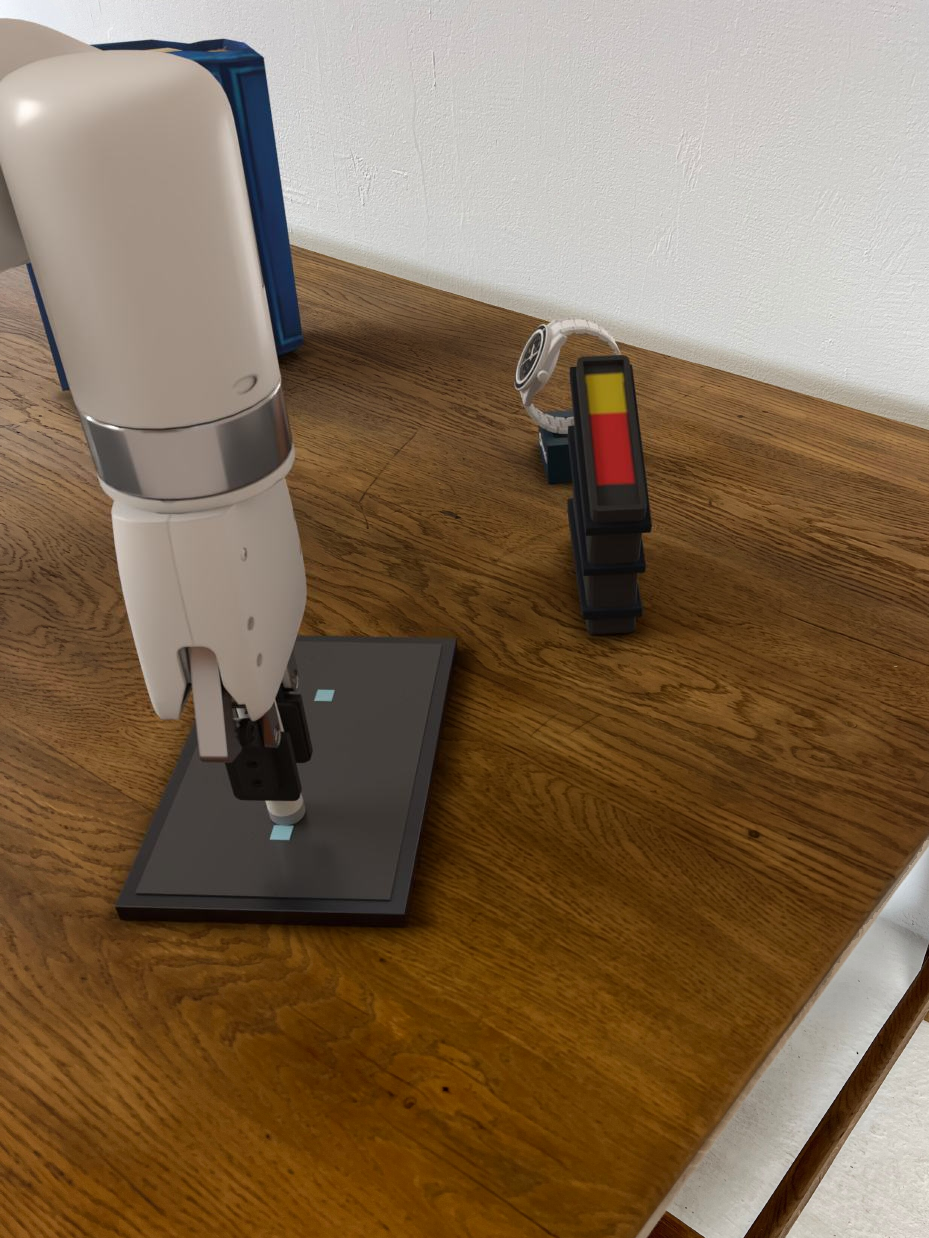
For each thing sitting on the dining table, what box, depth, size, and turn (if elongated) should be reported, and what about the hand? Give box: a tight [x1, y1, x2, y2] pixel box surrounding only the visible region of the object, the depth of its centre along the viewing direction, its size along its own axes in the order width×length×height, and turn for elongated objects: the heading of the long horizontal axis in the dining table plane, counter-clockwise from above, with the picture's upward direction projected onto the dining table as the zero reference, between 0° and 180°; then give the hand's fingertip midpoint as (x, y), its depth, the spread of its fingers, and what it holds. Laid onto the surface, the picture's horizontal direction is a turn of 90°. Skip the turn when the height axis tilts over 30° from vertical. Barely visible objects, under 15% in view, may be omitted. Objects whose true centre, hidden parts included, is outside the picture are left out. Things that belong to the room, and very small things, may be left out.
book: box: [25, 38, 305, 392], centre depth 93 cm, size 22×7×25 cm, turn 130°
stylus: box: [236, 700, 306, 826], centre depth 56 cm, size 2×2×9 cm
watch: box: [513, 316, 622, 485], centre depth 85 cm, size 6×8×11 cm
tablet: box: [114, 634, 459, 928], centre depth 63 cm, size 14×22×1 cm, turn 178°
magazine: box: [566, 354, 653, 636], centre depth 72 cm, size 4×13×15 cm, turn 5°
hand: (274, 775), depth 56 cm, fingers closed on stylus, 2 cm apart
